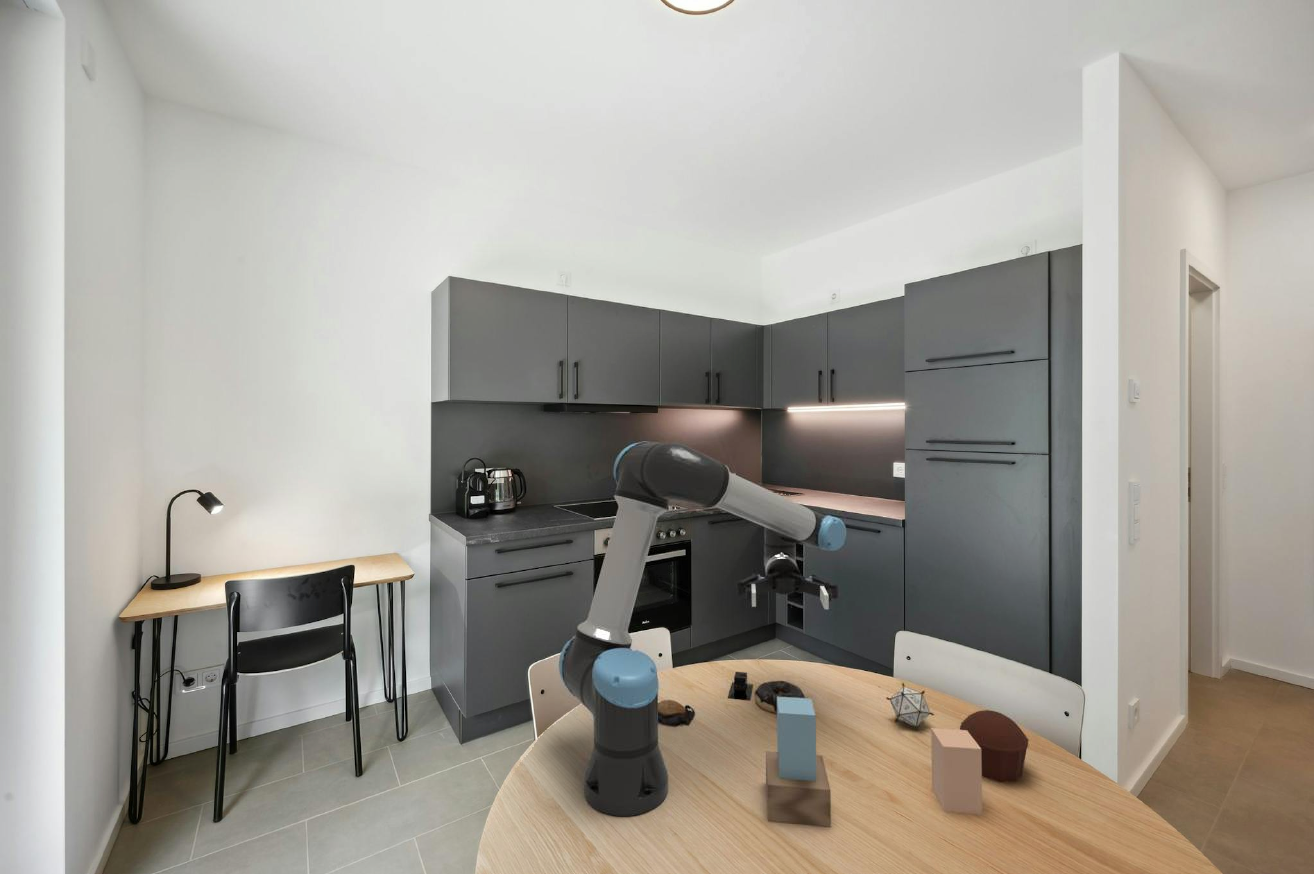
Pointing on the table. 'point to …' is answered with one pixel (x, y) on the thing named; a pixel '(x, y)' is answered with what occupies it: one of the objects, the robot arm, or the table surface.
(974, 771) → the clay brick
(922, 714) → the game die
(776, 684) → the donut
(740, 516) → the robot arm
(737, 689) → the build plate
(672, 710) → the brown and black lump
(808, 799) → the base block
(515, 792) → the table surface
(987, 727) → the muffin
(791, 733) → the blue brick
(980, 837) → the table surface
